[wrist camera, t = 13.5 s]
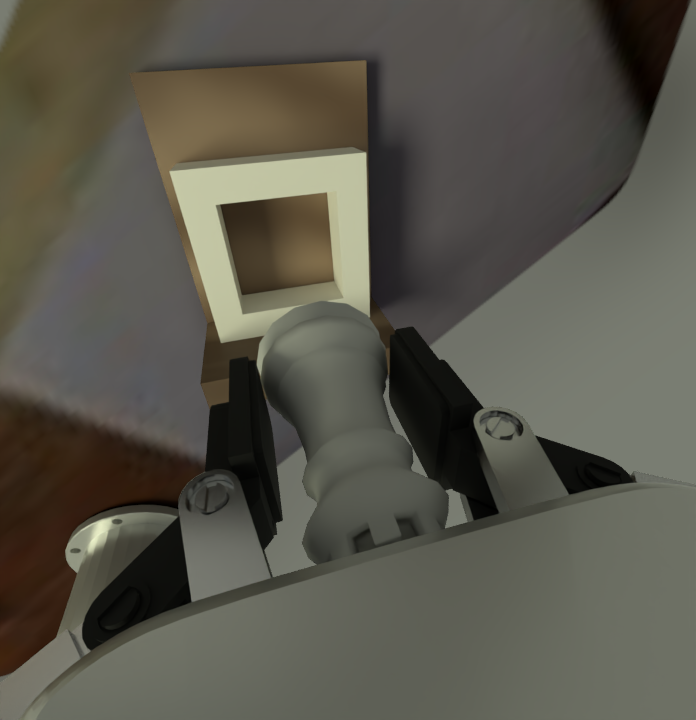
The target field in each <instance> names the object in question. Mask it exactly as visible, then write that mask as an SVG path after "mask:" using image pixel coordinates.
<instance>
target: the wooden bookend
mask: <svg viewBox="0 0 696 720" xmlns="http://www.w3.org/2000/svg"><path fill="white" fill-rule="evenodd" d="M129 75H130V78H131V81H132V84H133V88H134V91H135V94H136V97H137V100H138V104H139V107H140V110H141V113H142V116H143V120H144V123H145V126H146V129H147V132H148V135H149V139H150V142H151V145H152V148H153V151H154V155H155V158H156V161H157V164H158V167H159V170H160V174H161V177H162V180H163V183H164V186H165V190H166V193H167V196H168V199H169V202H170V206H171V209H172V212H173V215H174V218H175V221H176V225H177V228H178V231H179V234H180V237H181V241H182V244H183V247H184V250H185V253H186V256H187V260H188V263H189V266H190V269H191V272H192V276H193V279H194V282H195V285H196V288H197V292H198V295H199V298H200V301H201V304H202V307H203V311H204V314H205V317H206V320H207V323H208V324H207V333H206V341H205V350H204V358H203V367H202V375H201V386H202V389H203V392H204V395H205V397H206V400H207V403H208V406H209V408H210V407H211V405H216V404H221V403H226V402H229V360H230V359H235V358H241V357H246V356H248V359H249V361H250V360H256V364H257V358H258V350H259V343H260V342H261V340H262V339H263V337H264V336H259V337H254V338H248V339H242V340H236V341H230V342H225V343H221V341H220V338H219V335H218V331H217V328H216V325H215V321H214V318H213V315H212V312H211V308H210V305H209V302H208V298H207V295H206V292H205V288H204V285H203V282H202V278H201V275H200V272H199V268H198V265H197V262H196V258H195V255H194V252H193V248H192V245H191V242H190V238H189V235H188V232H187V228H186V225H185V222H184V218H183V215H182V212H181V208H180V205H179V202H178V198H177V195H176V192H175V188H174V185H173V182H172V178H171V175H170V172H169V171H170V170H171V169H172V168H173V167H174V166H175V165H176V163H186V162H196V161H207V160H218V159H229V158H239V157H250V156H261V155H271V154H282V153H293V152H304V151H314V150H325V149H336V148H347V147H354V148H356V149H359V150H361V151H364V152H366V167H367V209H368V251H369V293H370V317H369V318H370V320H371V321H372V323H373V324H374V326H375V327H376V329H377V330H378V332H379V336H380V339H381V341H382V342H383V344H384V345H385V349H386V358H387V366H388V374H389V366H390V335H392V334H395V330H394V329H393V327H392V326H391V324H390V323H389V321H388V320H387V319H386V317H385V316H384V314H383V313H382V311H381V310H380V309H379V307H378V306H377V304H376V303H375V301H374V300H373V299H372V297H371V262H370V214H369V166H368V119H367V71H366V60H363V61H344V62H325V63H306V64H288V65H269V66H250V67H232V68H213V69H194V70H176V71H157V72H138V73H129ZM220 206H221V211H222V215H223V219H224V223H225V227H226V231H227V236H228V240H229V244H230V248H231V252H232V256H233V260H234V265H235V269H236V273H237V277H238V281H239V285H240V290H241V294H242V295H247V294H254V293H260V292H267V291H273V290H280V289H286V288H293V287H299V286H306V285H312V284H319V283H325V282H332V281H334V271H333V259H332V247H331V235H330V222H329V210H328V198H327V192H326V193H317V194H308V195H299V196H290V197H281V198H272V199H264V200H255V201H246V202H237V203H228V204H220ZM258 372H259V371H258ZM259 376H260V373H259ZM260 378H261V376H260ZM262 388H263V387H262ZM263 392H264V389H263ZM264 396H265V399H267V397H266V395H265V392H264Z"/></svg>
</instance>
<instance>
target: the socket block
mask: <svg viewBox="0 0 696 720" xmlns="http://www.w3.org/2000/svg"><path fill="white" fill-rule="evenodd" d="M169 172H170V175H171V178H172V182H173V185H174V188H175V192H176V195H177V198H178V202H179V205H180V208H181V212H182V215H183V218H184V222H185V225H186V228H187V232H188V235H189V238H190V242H191V245H192V248H193V252H194V255H195V258H196V262H197V265H198V268H199V272H200V275H201V278H202V282H203V285H204V288H205V292H206V295H207V298H208V302H209V305H210V308H211V312H212V315H213V318H214V321H215V325H216V328H217V331H218V335H219V338H220V341H221V343H225V342H230V341H236V340H242V339H248V338H254V337H259V336H265V334H266V333H267V331H268V329H269V328H270V326H271V325H272V323H273V322H275V321H276V320H278V319H279V318H280V317H282V316H283V315H285V314H286V313H288V312H289V311H290V310H292V309H293V308H295V307H299V306H303V305H306V304H310V303H314V302H318V301H328V302H337V303H346V304H349V305H350V306H352V307H354V308H356V309H357V310H359V311H361V312H363V313H364V314H366V315H368V317H370V293H369V251H368V209H367V167H366V152H364V151H361V150H359V149H356V148H354V147H347V148H336V149H325V150H314V151H304V152H293V153H282V154H271V155H261V156H250V157H239V158H229V159H218V160H207V161H196V162H186V163H176V165H175V166H174V167H173V168H172V169H171V170H170V171H169ZM326 192H327V198H328V210H329V222H330V235H331V247H332V259H333V271H334V281H332V282H325V283H319V284H312V285H306V286H299V287H293V288H286V289H280V290H273V291H267V292H260V293H254V294H247V295H242V294H241V290H240V285H239V281H238V277H237V273H236V269H235V265H234V260H233V256H232V252H231V248H230V244H229V240H228V236H227V231H226V227H225V223H224V219H223V215H222V211H221V206H220V204H228V203H237V202H246V201H255V200H264V199H272V198H281V197H290V196H299V195H308V194H317V193H326Z"/></svg>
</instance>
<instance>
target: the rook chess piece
mask: <svg viewBox="0 0 696 720" xmlns="http://www.w3.org/2000/svg"><path fill="white" fill-rule="evenodd" d="M257 368H258V371H259V373H260V376H261V378H260V380H261V384H262V387H263V389H264V392H265V395H266V397H267V400H268V401H269V403H270V405H271V406H272V407H273V408H274V409H275V410H276V411H278V412H279V413H280V414H281V415H282V416H283V417H284V418H285V419H286V420H287V421H288V422H289V423H290V424H292V425H293V426H294V427H295V428H296V430H297V433H298V435H299V438H300V440H301V443H302V445H303V448H304V450H305V453H306V459H307V465H306V468H305V472H304V476H303V480H302V482H303V485H304V488H305V490H306V493H307V495H308V496H309V497H311V498H312V499H314V500H315V501H316V502H317V507H316V509H315V511H314V513H313V515H312V516H311V518H310V520H309V522H308V524H307V527H306V530H305V534H304V538H303V541H302V544H303V547H304V549H305V551H306V553H307V556H308V558H309V559H310V560H312V561H313V562H314V563H315V564H317V565H319V564H322V563H326V562H329V561H333V560H336V559H339V558H343V557H346V556H350V555H353V554H357V553H360V552H364V551H368V550H371V549H375V548H378V547H382V546H385V545H389V544H392V543H396V542H399V541H403V540H407V539H410V538H414V537H417V536H421V535H424V534H428V533H432V532H435V531H439V530H442V529H445V525H446V520H447V516H448V501H449V500H448V499H449V497H448V494H447V493H446V491H445V490H444V489H443V488H442V487H441V485H440V484H439V483H438V482H436V481H434V480H432V479H429V478H427V477H425V476H423V475H420V474H418V473H415V472H413V471H412V470H411V466H412V464H413V452H412V447H411V445H409V443H408V442H407V441H406V439H405V438H404V437H403V436H401V435H399V434H396V433H395V431H394V429H393V427H392V424H391V422H390V419H389V415H388V412H387V408H386V405H385V401H384V398H383V394H384V391H385V388H386V383H385V381H386V378H387V375H388V366H387V358H386V349H385V345H384V344H383V342H382V341H381V339H380V336H379V332H378V330H377V329H376V327H375V326H374V324H373V323H372V321H371V320H370V318H369V317H368V315H366V314H364V313H363V312H361V311H359V310H357V309H356V308H354V307H352V306H350V305H349V304H346V303H337V302H328V301H318V302H314V303H310V304H306V305H303V306H299V307H295V308H293V309H292V310H290V311H289V312H288V313H286V314H285V315H283V316H282V317H280V318H279V319H278V320H276V321H275V322H273V323H272V325H271V326H270V328H269V329H268V331H267V333H266V334H265V336H264V337H263V339H262V340H261V342H260V343H259V350H258V358H257Z"/></svg>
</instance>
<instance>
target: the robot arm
mask: <svg viewBox="0 0 696 720" xmlns="http://www.w3.org/2000/svg"><path fill="white" fill-rule="evenodd" d="M389 398H390V403H391V406H392V408H393V409H394V412H395V414H396V416H397V418H398V419H399V421H400V423H401V425H402V427H403V429H404V431H405V433H406V435H407V437H408V439H409V441H410V443H411V445H412V447H413V449H414V451H415V453H416V455H417V456H418V458H419V460H420V462H421V464H422V466H423V468H424V470H425V472H426V474H427V476H428V478H429V479H432V480H434V481H436V482H438V483H439V484H440V485H441V487H442V488H443V489H444V490H448V489H453V490H454V491H456V492H459V493H460V498H461V501H462V504H463V508H464V511H465V514H466V517H467V521H468V522H467V523H464V524H460V525H457V526H453V527H450V528H446V529H442V530H439V531H435V532H432V533H428V534H424V535H421V536H417V537H414V538H410V539H407V540H403V541H399V542H396V543H392V544H389V545H385V546H382V547H378V548H375V549H371V550H368V551H364V552H360V553H357V554H353V555H350V556H346V557H343V558H339V559H336V560H333V561H329V562H326V563H322V564H319V565H315V566H312V567H308V568H305V569H301V570H298V571H294V572H291V573H287V574H284V575H280V576H277V577H273V576H272V572H271V569H270V567H269V563H268V560H267V557H266V554H265V551H264V550H265V548H266V547H267V546H268V544H269V543H270V542H271V540H272V539H273V538H274V537H273V535H277V529H276V522H280V521H282V520H283V518H282V510H281V501H280V492H279V484H278V475H277V466H276V458H275V449H274V441H273V432H272V426H271V421H270V417H269V413H268V409H267V405H266V400H265V396H264V392H263V388H262V384H261V380H260V376H259V372H258V368H257V364H256V360H250V361H249V359H248V356H246V357H241V358H235V359H230V360H229V402H226V403H221V404H216V405H211V407H210V415H209V428H208V441H207V454H206V467H205V472H204V473H202V474H200V475H198V476H196V477H195V478H194V479H192V480H191V481H190V482H189V483H188V484H187V485H186V486H185V488H184V489H183V490H182V492H181V495H180V497H179V501H178V509H175V508H171V507H167V506H160V505H132V506H125V507H120V508H115V509H111V510H108V511H105V512H102V513H100V514H97V515H95V516H93V517H91V518H89V519H88V520H86V521H85V522H83V523H82V524H81V525H79V526H78V527H77V529H76V530H75V531H74V532H73V533H72V535H71V537H70V539H69V542H68V545H67V548H66V551H65V552H66V560H67V562H68V564H69V565H70V567H71V568H72V569H73V570H74V571H75V572H77V573H78V574H77V577H76V580H75V583H74V586H73V589H72V592H71V595H70V598H69V601H68V604H67V607H66V610H65V613H64V616H63V619H62V622H61V625H60V628H59V631H58V634H57V637H56V638H55V639H54V640H53V641H51V642H50V643H49V644H48V645H47V646H45V647H44V648H43V649H42V650H40V651H39V652H38V653H37V654H36V655H34V656H33V657H32V658H31V659H29V660H28V661H27V662H26V663H25V664H23V665H22V666H21V667H20V668H18V669H17V670H16V671H15V672H14V673H12V674H11V675H10V676H9V677H7V678H6V679H5V680H4V681H2V682H1V683H0V720H696V485H694V484H690V483H685V482H681V481H676V480H672V479H667V478H663V477H658V476H654V475H649V474H645V473H640V472H636V471H634V472H633V473H632V475H629V474H628V473H627V472H626V471H625V470H624V469H623V468H622V467H620V466H619V465H617V464H616V463H614V462H612V461H610V460H607V459H605V458H603V457H600V456H597V455H594V454H591V453H588V452H584V451H581V450H578V449H575V448H572V447H569V446H566V445H563V444H560V443H557V442H554V441H550V440H548V439H545V438H541V437H538V436H535V435H534V434H533V432H532V430H531V428H530V426H529V425H528V423H527V422H526V421H525V419H524V418H523V417H522V416H520V415H519V414H517V413H516V412H514V411H512V410H510V409H506V408H502V407H487V408H483V406H482V405H481V404H480V403H479V401H478V400H477V399H476V398H475V397H474V396H473V394H472V393H471V392H470V390H469V389H468V388H467V387H466V385H465V384H464V383H463V382H462V380H461V379H460V378H459V377H458V376H457V374H456V373H455V372H454V371H453V370H452V368H451V367H450V366H449V365H448V363H447V362H446V361H445V360H439V359H438V358H437V356H436V355H435V354H434V353H433V351H432V350H431V349H430V347H429V346H428V345H427V344H426V342H425V341H424V340H423V339H422V337H421V336H420V335H419V333H418V332H417V331H416V330H415V328H414V327H406V328H401V329H396V330H395V334H392V335H390V366H389Z"/></svg>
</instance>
